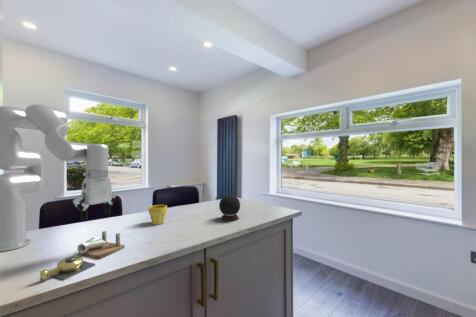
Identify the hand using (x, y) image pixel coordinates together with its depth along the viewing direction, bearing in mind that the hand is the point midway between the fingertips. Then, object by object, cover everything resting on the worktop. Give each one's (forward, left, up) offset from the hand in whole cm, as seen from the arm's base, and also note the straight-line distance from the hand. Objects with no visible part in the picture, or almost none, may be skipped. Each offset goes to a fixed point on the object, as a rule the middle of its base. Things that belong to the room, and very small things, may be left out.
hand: (96, 217), depth 88 cm
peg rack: (+1, +2, -14) cm, 14 cm away
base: (+5, -12, -14) cm, 19 cm away
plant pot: (-5, +42, -15) cm, 44 cm away
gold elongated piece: (+5, -15, -13) cm, 21 cm away
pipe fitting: (-2, 0, -13) cm, 13 cm away
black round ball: (+31, +65, -15) cm, 73 cm away
